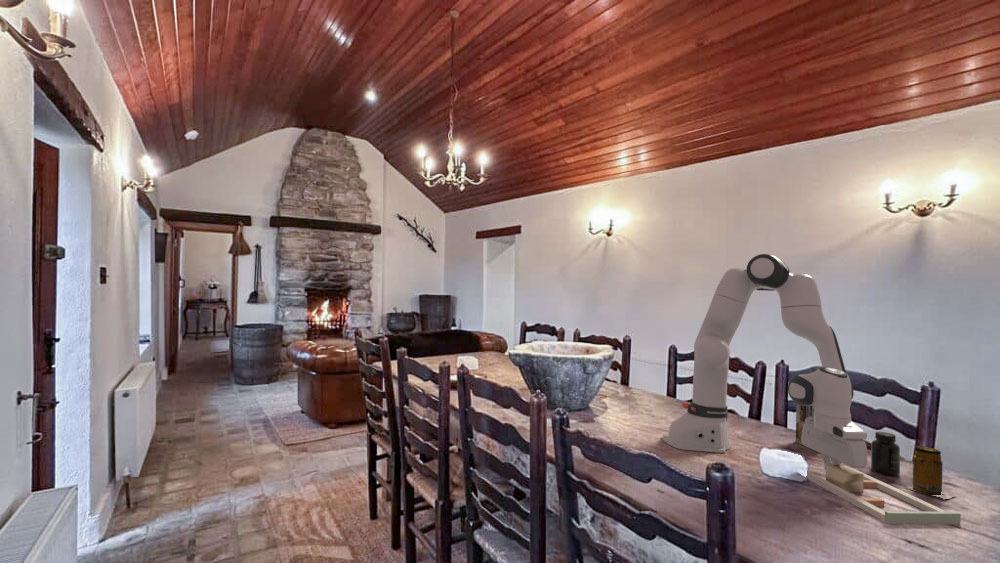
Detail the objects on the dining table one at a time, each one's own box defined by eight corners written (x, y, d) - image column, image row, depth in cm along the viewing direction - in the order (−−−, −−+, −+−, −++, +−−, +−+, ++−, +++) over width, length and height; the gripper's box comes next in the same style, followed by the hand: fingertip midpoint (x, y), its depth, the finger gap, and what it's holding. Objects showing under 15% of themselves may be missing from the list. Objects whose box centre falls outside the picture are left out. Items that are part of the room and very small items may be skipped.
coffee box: (829, 450, 160) (830, 404, 161) (810, 449, 160) (812, 403, 161) (812, 442, 169) (813, 398, 170) (794, 441, 170) (795, 397, 170)
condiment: (918, 484, 133) (918, 443, 133) (957, 497, 125) (957, 453, 125) (905, 488, 130) (906, 446, 130) (944, 501, 122) (945, 456, 122)
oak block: (842, 491, 125) (843, 473, 125) (825, 482, 131) (826, 465, 131) (863, 492, 126) (863, 473, 126) (845, 482, 132) (845, 465, 132)
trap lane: (888, 523, 108) (888, 513, 108) (795, 472, 138) (795, 464, 138) (960, 524, 109) (960, 513, 109) (852, 473, 140) (853, 465, 140)
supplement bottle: (895, 471, 143) (895, 432, 143) (903, 478, 137) (904, 438, 137) (867, 466, 146) (868, 429, 146) (874, 474, 140) (875, 434, 140)
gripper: (796, 414, 144) (795, 458, 144) (850, 435, 123) (849, 486, 123) (815, 414, 144) (814, 458, 144) (872, 435, 124) (871, 486, 124)
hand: (830, 471), depth 133 cm, fingers closed
